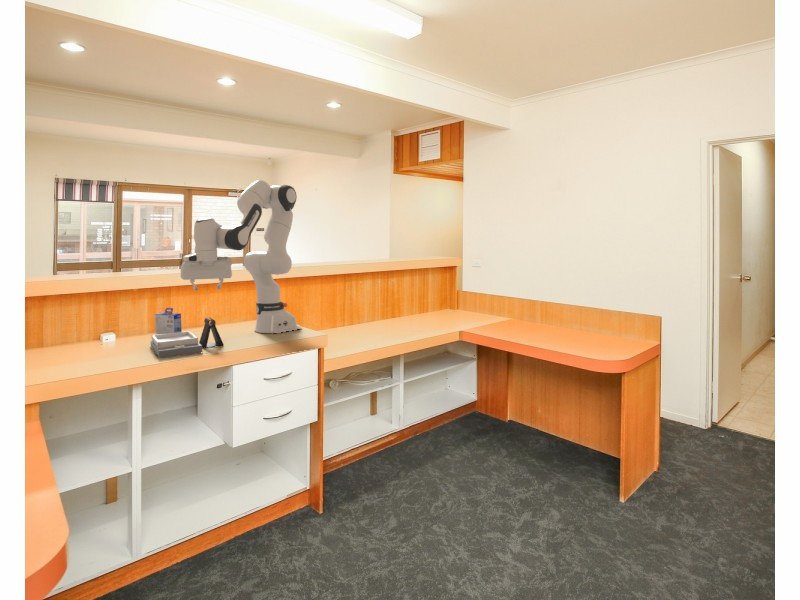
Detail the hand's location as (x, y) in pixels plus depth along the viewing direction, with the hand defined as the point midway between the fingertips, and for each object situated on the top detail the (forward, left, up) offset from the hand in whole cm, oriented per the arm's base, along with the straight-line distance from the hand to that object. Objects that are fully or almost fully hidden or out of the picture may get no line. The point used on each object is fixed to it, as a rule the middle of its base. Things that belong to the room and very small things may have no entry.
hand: (207, 289), depth 208 cm
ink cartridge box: (+13, -19, -25) cm, 34 cm away
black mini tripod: (0, +1, -25) cm, 25 cm away
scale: (+14, +1, -24) cm, 28 cm away
